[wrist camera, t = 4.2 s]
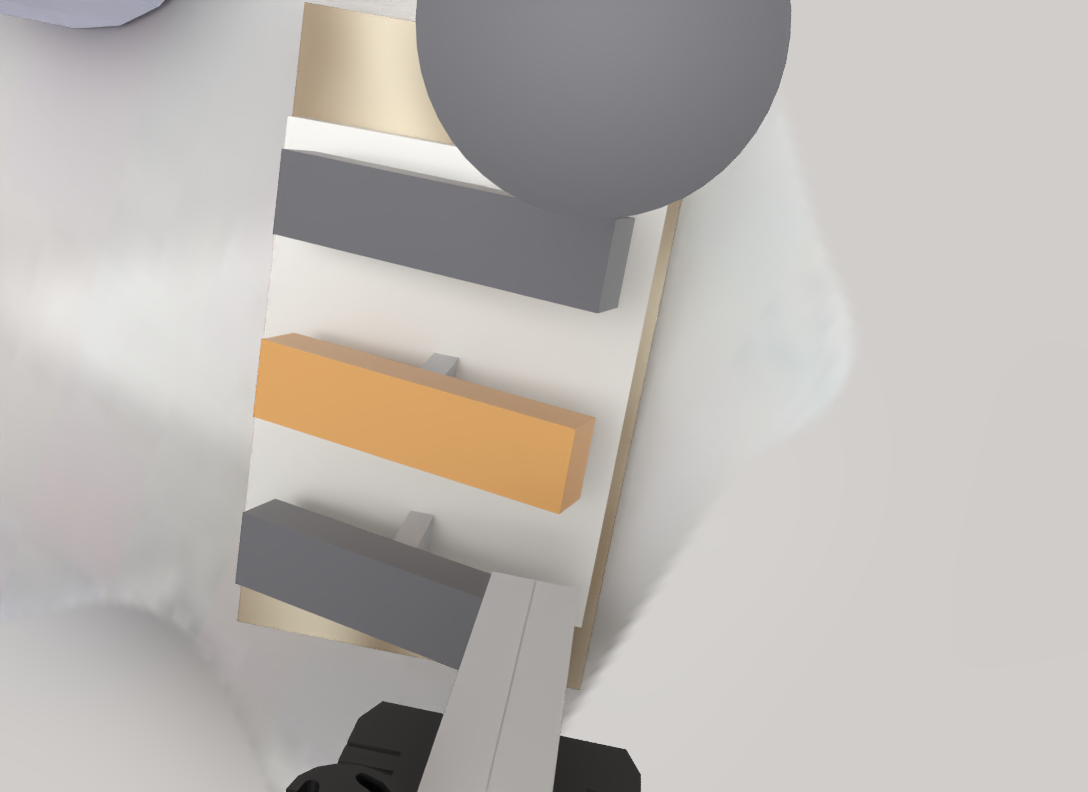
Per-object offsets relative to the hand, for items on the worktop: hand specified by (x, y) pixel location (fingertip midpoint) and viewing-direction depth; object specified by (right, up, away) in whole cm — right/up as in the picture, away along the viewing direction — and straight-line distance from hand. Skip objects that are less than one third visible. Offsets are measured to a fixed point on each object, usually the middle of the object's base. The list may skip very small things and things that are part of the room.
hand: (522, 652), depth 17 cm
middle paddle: (-3, +4, +12) cm, 13 cm away
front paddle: (-2, +9, +10) cm, 14 cm away
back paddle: (-4, -1, +13) cm, 14 cm away
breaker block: (-3, +5, +18) cm, 19 cm away
